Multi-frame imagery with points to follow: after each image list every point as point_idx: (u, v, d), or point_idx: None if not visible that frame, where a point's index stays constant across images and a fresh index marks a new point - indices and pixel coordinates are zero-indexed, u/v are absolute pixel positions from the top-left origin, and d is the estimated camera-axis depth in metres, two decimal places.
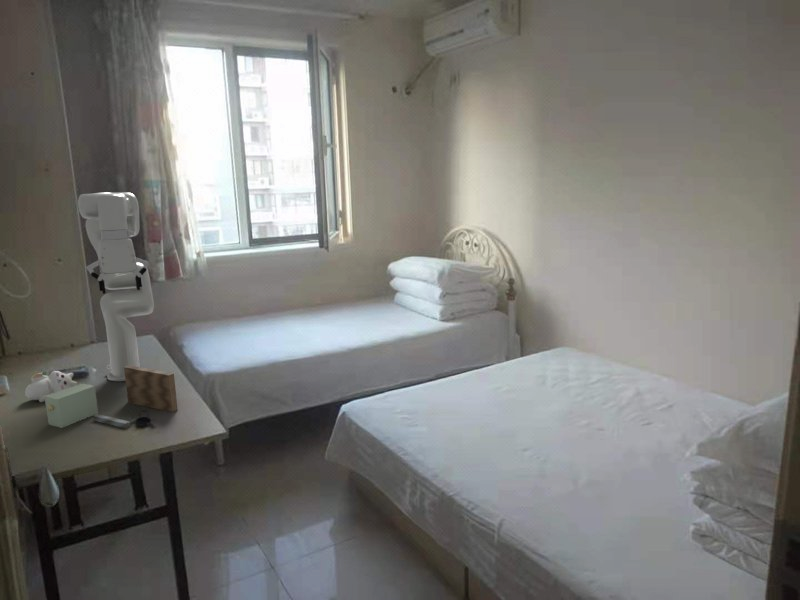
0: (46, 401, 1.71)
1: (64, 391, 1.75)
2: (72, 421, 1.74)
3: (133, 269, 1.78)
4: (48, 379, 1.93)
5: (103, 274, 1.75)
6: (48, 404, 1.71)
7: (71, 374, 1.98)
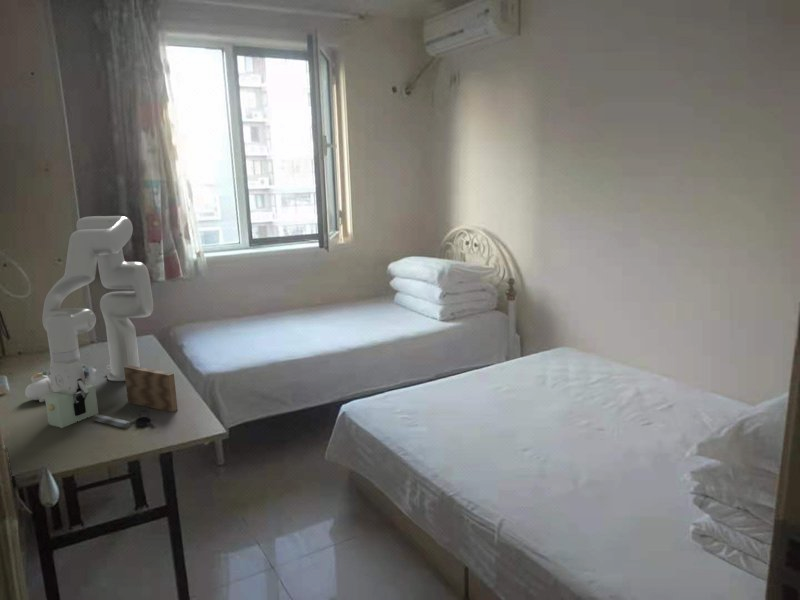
0: (46, 401, 1.71)
1: None
2: (72, 421, 1.74)
3: None
4: (48, 379, 1.93)
5: None
6: (48, 404, 1.71)
7: None
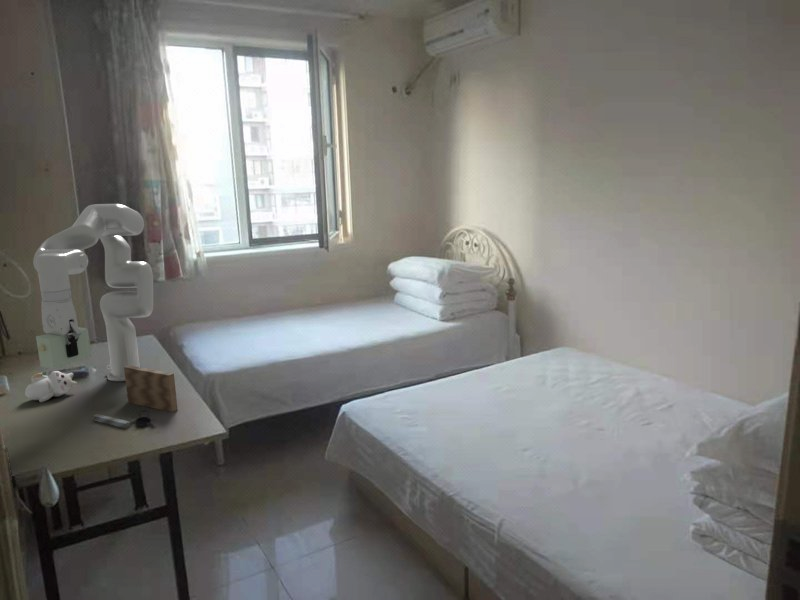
0: (37, 342, 1.68)
1: None
2: (64, 363, 1.70)
3: None
4: (48, 379, 1.93)
5: None
6: (40, 345, 1.68)
7: (71, 374, 1.98)
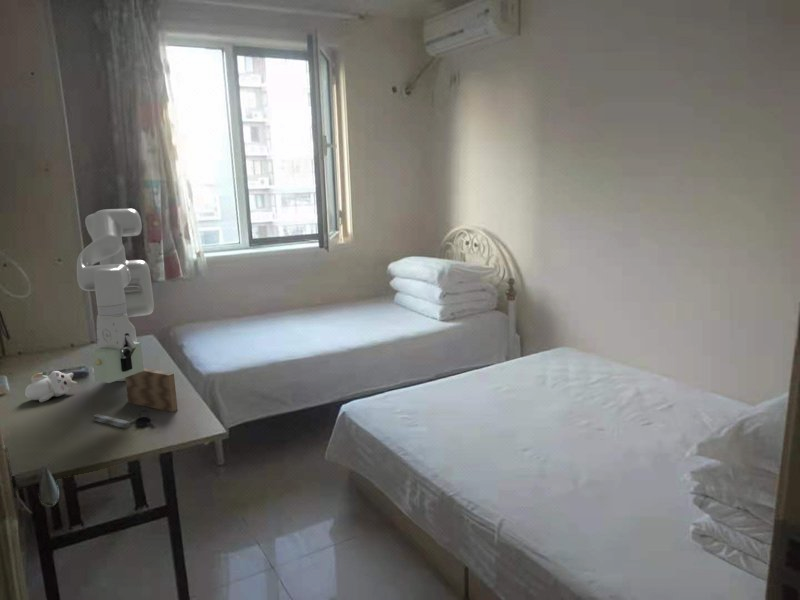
0: (93, 356, 1.68)
1: None
2: (119, 377, 1.70)
3: None
4: (48, 379, 1.93)
5: None
6: (95, 359, 1.68)
7: (71, 374, 1.98)
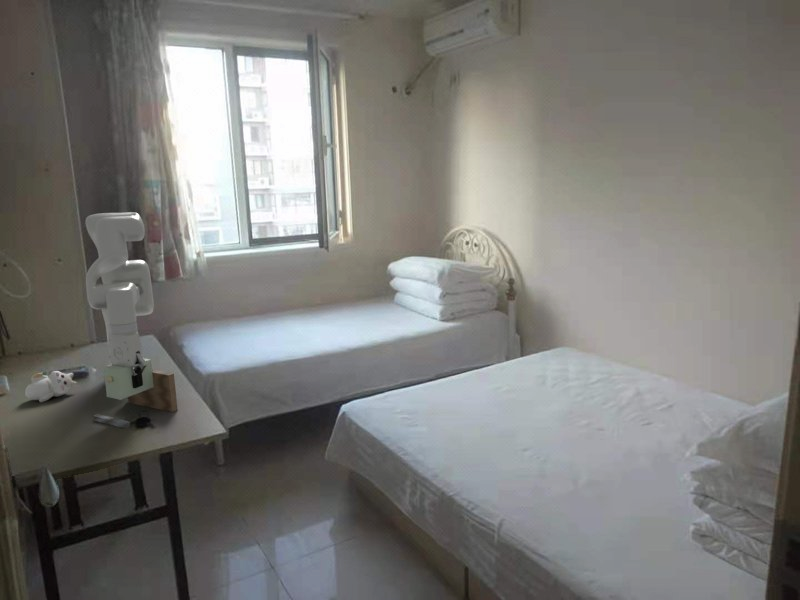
0: (105, 373, 1.73)
1: None
2: (130, 393, 1.75)
3: None
4: (48, 379, 1.93)
5: None
6: (107, 376, 1.72)
7: (71, 374, 1.98)
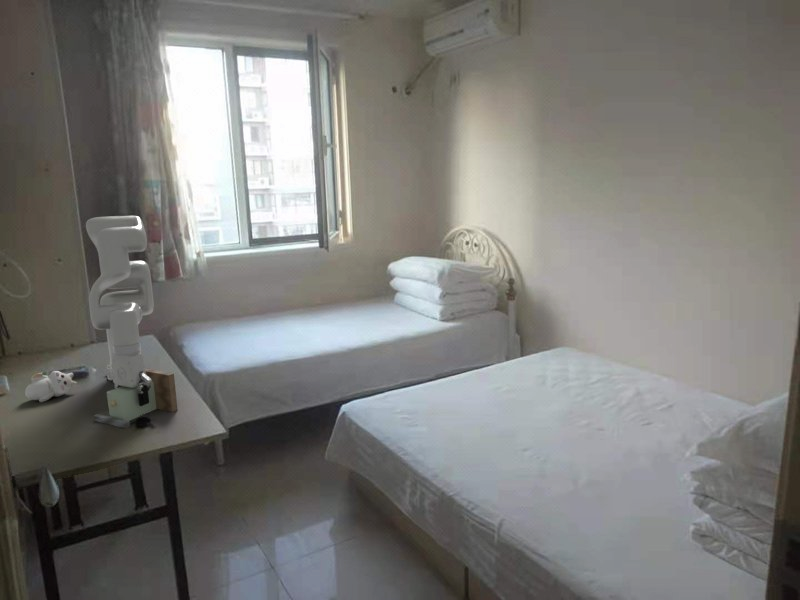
0: (108, 397, 1.74)
1: (125, 387, 1.78)
2: (133, 416, 1.76)
3: None
4: (48, 379, 1.93)
5: None
6: (110, 400, 1.74)
7: (71, 374, 1.98)
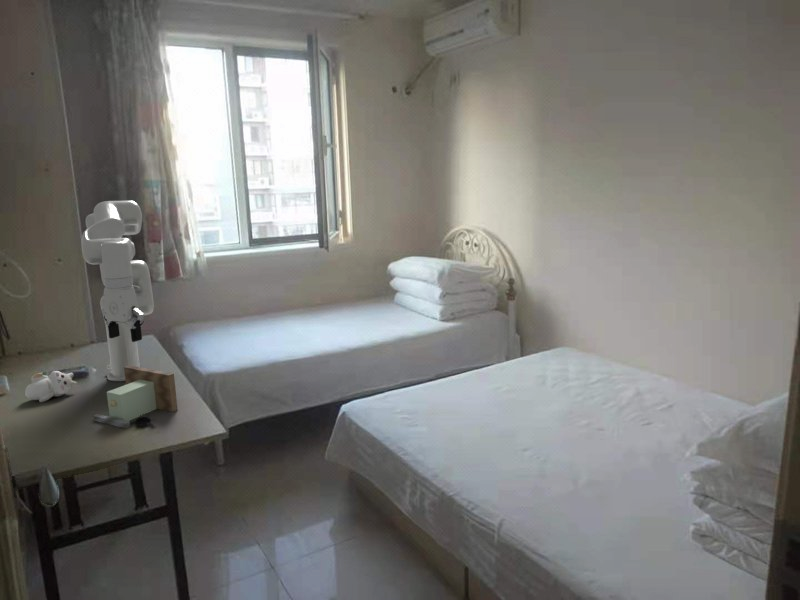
0: (108, 397, 1.74)
1: (125, 387, 1.78)
2: (133, 416, 1.76)
3: None
4: (48, 379, 1.93)
5: None
6: (110, 400, 1.74)
7: (71, 374, 1.98)
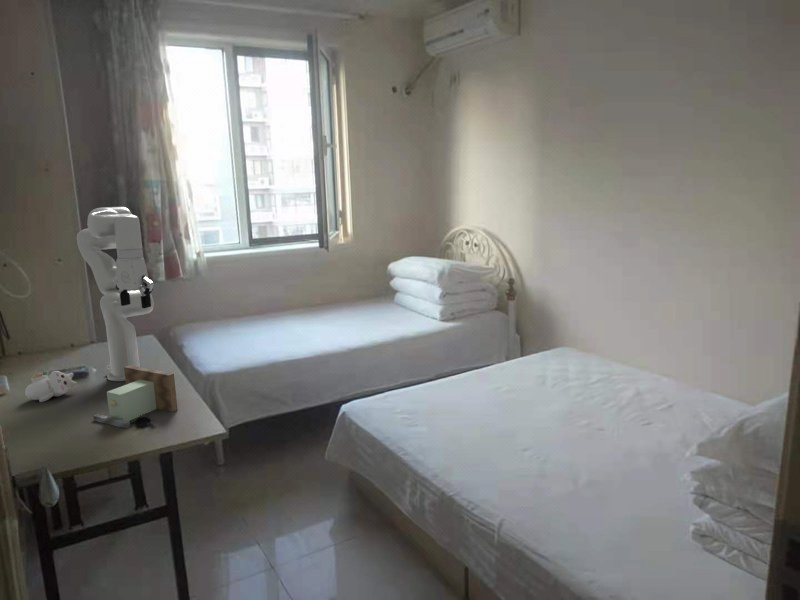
0: (108, 397, 1.74)
1: (125, 387, 1.78)
2: (133, 416, 1.76)
3: None
4: (48, 379, 1.93)
5: None
6: (110, 400, 1.74)
7: (71, 374, 1.98)
